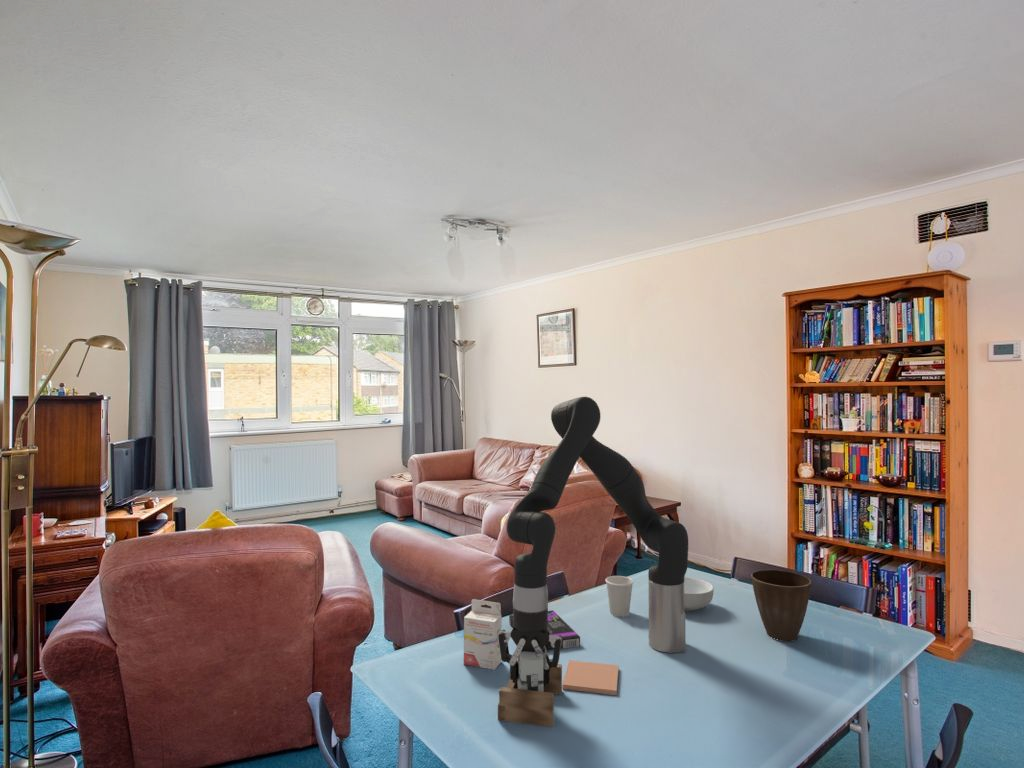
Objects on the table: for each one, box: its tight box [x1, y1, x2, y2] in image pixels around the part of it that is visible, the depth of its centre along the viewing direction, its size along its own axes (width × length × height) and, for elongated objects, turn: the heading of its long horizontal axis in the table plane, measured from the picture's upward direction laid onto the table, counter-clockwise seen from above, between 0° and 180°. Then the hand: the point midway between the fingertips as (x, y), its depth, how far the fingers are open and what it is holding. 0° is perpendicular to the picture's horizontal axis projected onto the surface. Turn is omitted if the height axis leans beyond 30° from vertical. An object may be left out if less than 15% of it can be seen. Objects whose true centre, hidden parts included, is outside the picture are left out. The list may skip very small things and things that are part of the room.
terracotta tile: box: [562, 659, 619, 696], centre depth 132 cm, size 12×12×1 cm
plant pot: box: [750, 569, 812, 642], centre depth 156 cm, size 15×15×16 cm
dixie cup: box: [604, 575, 634, 618], centre depth 172 cm, size 8×8×10 cm
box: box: [508, 610, 581, 652], centre depth 157 cm, size 14×4×20 cm
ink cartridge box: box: [463, 598, 503, 671], centre depth 140 cm, size 9×5×15 cm, turn 71°
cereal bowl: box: [684, 576, 714, 612], centre depth 178 cm, size 17×17×7 cm
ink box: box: [517, 651, 543, 692], centre depth 122 cm, size 9×5×12 cm, turn 5°
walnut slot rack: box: [497, 659, 563, 728], centre depth 121 cm, size 11×14×6 cm
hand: (529, 682), depth 122 cm, fingers closed on ink box, 6 cm apart
